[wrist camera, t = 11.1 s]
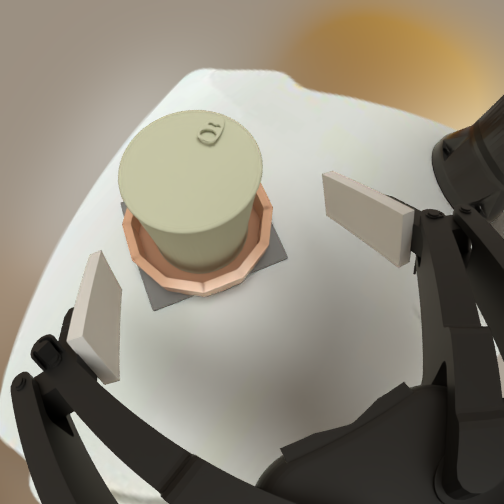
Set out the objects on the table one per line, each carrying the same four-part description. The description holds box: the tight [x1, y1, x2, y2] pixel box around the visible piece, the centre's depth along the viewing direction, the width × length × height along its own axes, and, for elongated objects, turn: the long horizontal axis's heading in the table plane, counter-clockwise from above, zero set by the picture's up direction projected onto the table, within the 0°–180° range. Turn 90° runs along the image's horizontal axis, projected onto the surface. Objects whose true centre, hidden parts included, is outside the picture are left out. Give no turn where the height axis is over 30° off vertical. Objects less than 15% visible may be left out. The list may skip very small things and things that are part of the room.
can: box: [118, 110, 263, 274], centre depth 22 cm, size 9×9×12 cm
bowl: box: [122, 182, 273, 297], centre depth 27 cm, size 13×13×3 cm
